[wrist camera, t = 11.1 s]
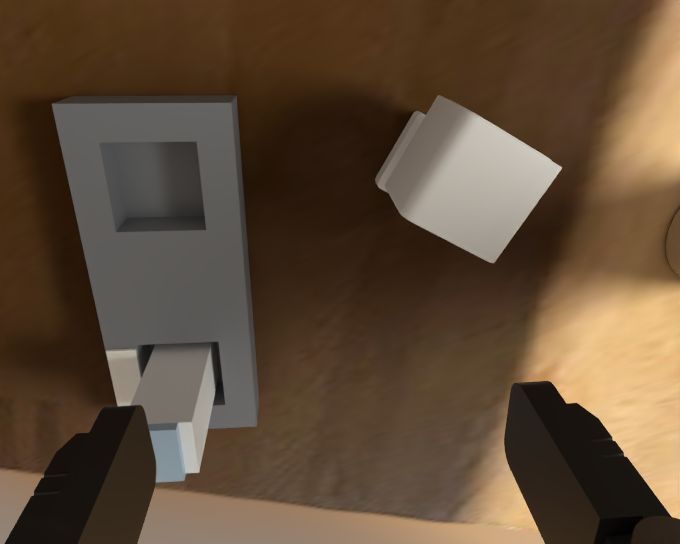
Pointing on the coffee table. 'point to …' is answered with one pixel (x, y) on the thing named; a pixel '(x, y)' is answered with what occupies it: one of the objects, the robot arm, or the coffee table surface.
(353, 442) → the coffee table surface
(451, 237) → the white cube on bracket
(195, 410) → the plug
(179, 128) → the socket panel
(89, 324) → the coffee table surface
